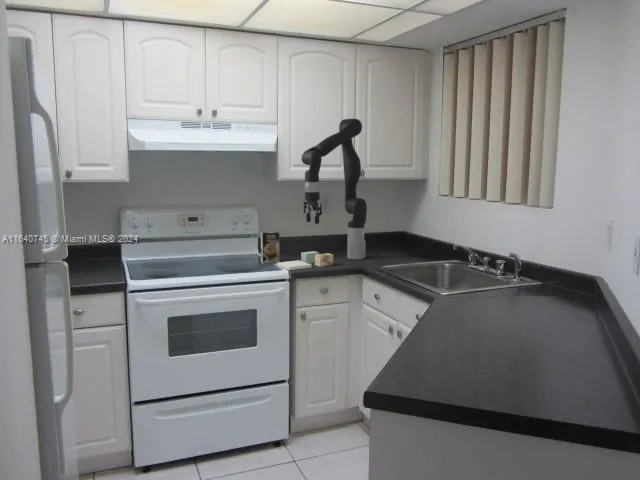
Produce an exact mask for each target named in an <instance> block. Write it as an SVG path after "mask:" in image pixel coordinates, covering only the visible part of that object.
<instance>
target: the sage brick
mask: <svg viewBox="0 0 640 480" xmlns="http://www.w3.org/2000/svg"><path fill="white" fill-rule="evenodd" d="M300 253H301V254H300V258H301V259H300V261H302V262H305V263H308V264H311V265H313V264H315V255H316V254H320V252H318V251H315V250H314V251H311V250H310V251H305V252H300Z"/></svg>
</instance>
